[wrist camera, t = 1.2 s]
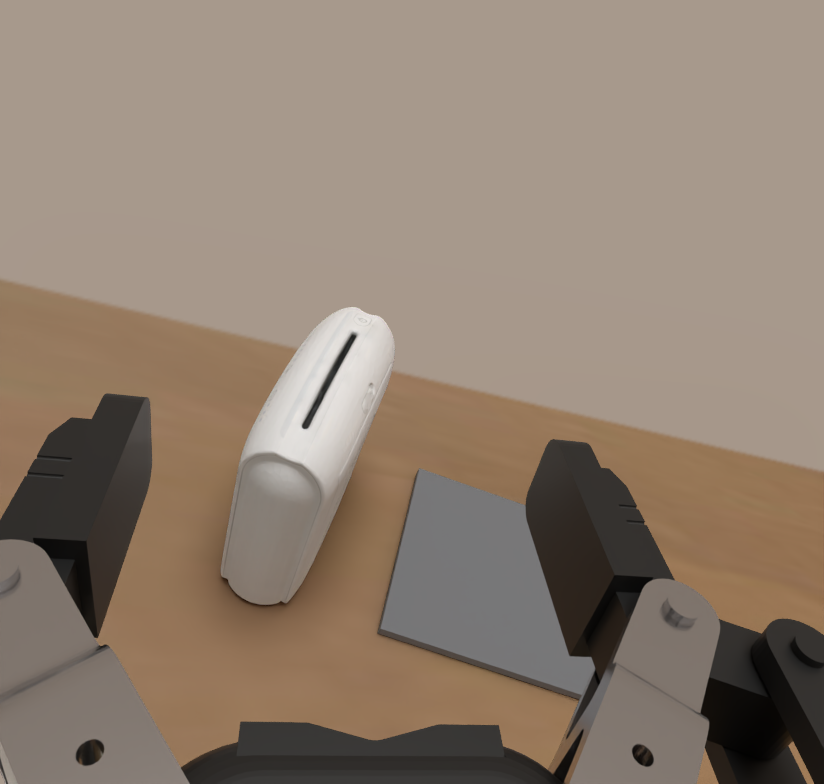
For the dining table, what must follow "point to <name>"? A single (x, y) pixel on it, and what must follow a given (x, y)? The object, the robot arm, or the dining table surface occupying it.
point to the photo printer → (304, 454)
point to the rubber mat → (477, 587)
